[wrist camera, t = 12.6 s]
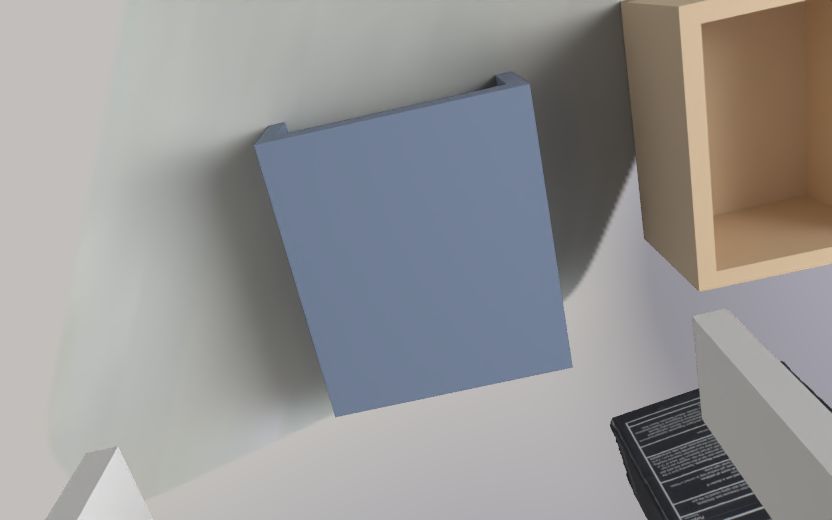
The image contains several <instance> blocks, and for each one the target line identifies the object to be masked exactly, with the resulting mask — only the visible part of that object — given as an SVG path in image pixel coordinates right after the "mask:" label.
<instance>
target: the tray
mask: <svg viewBox="0 0 832 520" xmlns="http://www.w3.org/2000/svg"><path fill="white" fill-rule="evenodd" d="M620 4H621V14H622V24H623V34H624V43H625V53H626V63H627V73H628V83H629V93H630V103H631V113H632V123H633V132H634V142H635V152H636V162H637V172H638V182H639V191H640V200H641V201H640V202H641V211H642V221H643V230H644V239H645V240H646V241H647V242H649V243H650V245H652V246H653V247H654V248H655V249H656V250H657V251H658V252H659V253H660V254H661V255H662V256H663V257H664V258H665V259H666V260H667V261H668V262H669V263H670V264H671V265H672V266H673V267H674V268H675V269H676V270H677V271H678V272H679V273H681V274H682V275H683V276H684V277H685V278H686V279H687V280H688V281H689V282H690V283H691V284H692V285H693V286H694V287H695V288H696V289H697V290H698V291H699V292H701V291H705V290H710V289H715V288H720V287H725V286H729V285H734V284H739V283H743V282H748V281H753V280H757V279H762V278H766V277H772V276H776V275H781V274H786V273H790V272H795V271H800V270H805V269H810V268H814V267H819V266H823V265H828V264H832V0H627V1H622V2H620Z"/></svg>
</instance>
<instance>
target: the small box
mask: <svg viewBox="0 0 832 520" xmlns="http://www.w3.org/2000/svg"><path fill="white" fill-rule="evenodd" d="M780 362H781V363H782V364H783V365H784V366H785V367H786V368H787V369H788V370H789V371H790V372H791V373H792V374H793V375H794V376H795V377H796V378H797V379H798V380H799V381H800V382H801V383H802V384H803V385H804V386H805V387H806V388H807V389H808V390H809V391H810V392H811V393H812V394H813V395H814V396H815V397H816V398H817V399H818V400H819V401H820V402H821V403H822V404H823V405H824V406H825V407H826V408H827V409H828V410H829V411H830V412H831V413H832V409H831V408H830V407H829V406H828V405H827V404H826V403H824V401H823V400H822V399H821V398H819V397H818V396H817V395H816V394H815V393H814V392H813V391H812V390H811V389H810V388H809V387H808V386H807V385H806V384H805V383H803V382H802V381H801V380H800V379H799V378H798V377H797V376H796V375H795V374H794V373H793V372H792V371H791V370H790V368H789V367H788V366H787V365H786V364H785V363H784V362H783V361H780ZM610 427H611V429H612V431H613V433H614V436H615V437H616V442H617V443H618V446H619V450H620V454H621V455H622V459H623V464H624V466H625V468H626V471H627V474H626V475H627V478H628V481H629V483H630V485H631V487H632V489H633V492H634V495H635V497H636V498H637V500H638V502H639V504H640V506H641V508H642V510H643V512H644V514H645V516H646V517H647V519H648V520H772V518H771V517H770V516H769V514H768V513H767V511H766V510H765V508H764V507H763V506H762V504H761V503H760V501H759V500H758V498H757V497H756V496H755V494H754V493H753V491H752V490H751V488H750V487H749V486H748V484H747V483H746V481H745V480H744V478H743V477H742V476H741V474H740V473H739V471H738V470H737V468H736V467H735V465H734V464H733V463H732V461H731V460H730V458H729V457H728V455H727V454H726V453H725V451H724V450H723V448H722V447H721V445H720V444H719V443H718V441H717V440H716V438H715V437H714V435H713V434H712V433H711V431H710V430H709V428H708V427H707V425H706V424H705V423H704V421H703V420H702V412H701V402H700V392H699V389H696V390H693V391H690V392H687V393H684V394H681V395H678V396H675V397H672V398H670V399H667V400H664V401H661V402H658V403H655V404H652V405H649V406H646V407H643V408H640V409H638V410H634V411H632V412H628V413H625V414H623V415H620V416H617V417H614V418H612V420H611V424H610Z"/></svg>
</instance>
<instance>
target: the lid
mask: <svg viewBox="0 0 832 520" xmlns="http://www.w3.org/2000/svg"><path fill="white" fill-rule="evenodd" d="M495 77H496V83H497V86H496V87H492V88H487V89H483V90H478V91H474V92H469V93H465V94H460V95H456V96H451V97H447V98H442V99H438V100H434V101H429V102H425V103H420V104H416V105H411V106H407V107H402V108H398V109H393V110H389V111H384V112H380V113H375V114H371V115H366V116H362V117H357V118H353V119H348V120H344V121H339V122H335V123H330V124H326V125H321V126H317V127H312V128H308V129H304V130H299V131H295V132H290V133H288V131H287V128H286V124H285V122H284V123H279V124H275V125H270V126H268V128H267V129H266V130H265V132H264V133H263V134H262V135H261V137H260V138H259V139H258V141H257V142H256V143H255V145H254V147H255V151H256V154H257V157H258V161H259V164H260V167H261V171H262V174H263V177H264V181H265V184H266V187H267V191H268V194H269V197H270V201H271V204H272V207H273V211H274V214H275V217H276V221H277V224H278V227H279V231H280V234H281V237H282V241H283V244H284V247H285V251H286V254H287V257H288V261H289V264H290V267H291V271H292V274H293V277H294V281H295V284H296V287H297V291H298V294H299V297H300V301H301V304H302V307H303V311H304V314H305V317H306V321H307V324H308V327H309V331H310V334H311V337H312V341H313V344H314V347H315V351H316V354H317V357H318V361H319V364H320V367H321V371H322V374H323V377H324V381H325V384H326V387H327V391H328V394H329V397H330V401H331V404H332V407H333V411H334V414H335V417H338V416H343V415H347V414H352V413H357V412H362V411H366V410H371V409H376V408H381V407H386V406H390V405H395V404H400V403H405V402H410V401H414V400H419V399H424V398H429V397H434V396H438V395H443V394H447V393H452V392H457V391H462V390H467V389H472V388H476V387H481V386H486V385H491V384H495V383H500V382H505V381H510V380H515V379H519V378H524V377H529V376H534V375H539V374H543V373H548V372H552V371H558V370H562V369H567V368H571V367H572V360H571V354H570V347H569V340H568V334H567V327H566V320H565V314H564V307H563V300H562V294H561V287H560V281H559V274H558V267H557V261H556V254H555V247H554V241H553V234H552V228H551V221H550V214H549V208H548V201H547V194H546V188H545V181H544V175H543V168H542V161H541V155H540V148H539V142H538V135H537V128H536V122H535V115H534V108H533V102H532V95H531V89H530V84H529V83H528V82H526V81H525V80H523V79H522V78H520V77H519V76H517V75H516V74H515V73H513V72H507V73H503V74H498V75H495Z"/></svg>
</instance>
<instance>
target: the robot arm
mask: <svg viewBox="0 0 832 520" xmlns="http://www.w3.org/2000/svg"><path fill="white" fill-rule="evenodd" d="M692 322H693V331H694V342H695V352H696V362H697V372H698V382H699V392H700V402H701V412H702V420H703V421H704V423H705V424H706V425H707V427H708V428H709V430H710V431H711V433H712V434H713V435H714V437H715V438H716V440H717V441H718V443H719V444H720V445H721V447H722V448H723V450H724V451H725V453H726V454H727V455H728V457H729V458H730V460H731V461H732V463H733V464H734V465H735V467H736V468H737V470H738V471H739V473H740V474H741V476H742V477H743V478H744V480H745V481H746V483H747V484H748V486H749V487H750V488H751V490H752V491H753V493H754V494H755V496H756V497H757V498H758V500H759V501H760V503H761V504H762V506H763V507H764V508H765V510H766V511H767V513H768V514H769V516H770V517H771V518H772V520H832V413H831V412H830V411H829V410H828V409H827V408H826V407H825V406H824V405H823V404H822V403H821V402H820V401H819V400H818V399H817V398H816V397H815V396H814V395H813V394H812V393H811V392H810V391H809V390H808V389H807V388H806V387H805V386H804V385H803V384H802V383H801V382H800V381H799V380H798V379H797V378H796V377H795V376H794V375H793V374H792V373H791V372H790V371H789V370H788V369H787V368H786V367H785V366H784V365H783V364H782V363H781V362H780V361H779V360H778V359H777V358H776V357H775V356H774V355H773V354H772V353H771V352H770V351H769V350H768V349H767V348H766V347H765V346H764V345H763V344H762V343H761V342H760V341H759V340H758V339H757V338H756V337H755V336H754V335H753V334H752V333H751V332H750V331H749V330H748V329H747V328H746V327H745V326H744V325H743V324H742V323H741V322H740V321H739V320H738V319H737V318H736V317H735V316H734V315H733V314H732V313H731V312H730V311H729V310H728V309H727V308H726V309H721V310H717V311H712V312H708V313H704V314H699V315H695V316H692ZM46 520H153V518H152V516H151V514H150V512H149V509H148V507H147V505H146V503H145V501H144V499H143V497H142V495H141V493H140V491H139V489H138V487H137V485H136V483H135V481H134V479H133V477H132V475H131V472H130V470H129V468H128V466H127V464H126V462H125V460H124V458H123V456H122V454H121V452H120V450H119V448H118V447H114V448H109V449H105V450H101V451H96V452H92V453H87V454H85V456H84V458H83V459H82V461H81V463H80V464H79V466H78V468H77V469H76V471H75V472H74V474H73V476H72V477H71V479H70V481H69V482H68V484H67V485H66V487H65V489H64V490H63V492H62V494H61V495H60V497H59V499H58V500H57V502H56V503H55V505H54V507H53V508H52V510H51V512H50V513H49V515H48V517H47V518H46Z"/></svg>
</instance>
